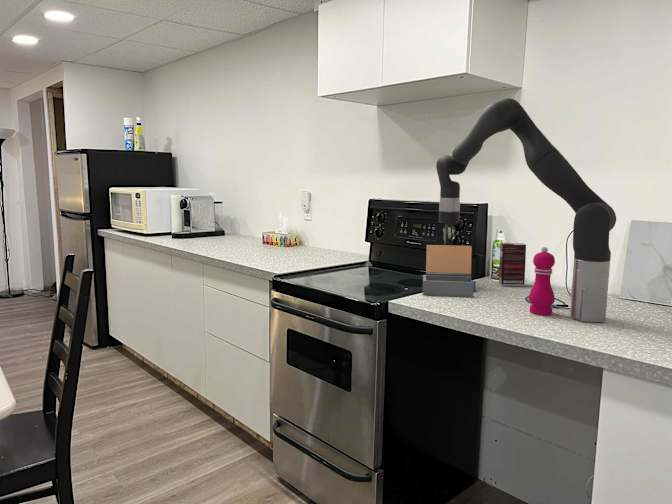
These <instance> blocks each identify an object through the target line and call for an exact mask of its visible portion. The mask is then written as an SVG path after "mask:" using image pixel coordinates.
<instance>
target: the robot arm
mask: <svg viewBox="0 0 672 504" xmlns="http://www.w3.org/2000/svg"><path fill="white" fill-rule="evenodd" d="M507 130H510V131H512V132H513V133H514V135H515V136H516V137H517V138H518V140H520V143H521V145H522V148H523V154H524V159H525V163H526V165H527V167H528V168H529V170H530V171H531V172H532V173H533V175H534V176H535V177H536V178H537V179H538V181H540V183H541V184H542V185H544V186H545V187H546V188H547V189H549V190H550V191H551V192H553V193H554V194H556V195H557V196H559V197H560V198H561V199H562V200H563V201H565V202H566V203H567V204H568V205H569V206H570V207H571V209H572V210H573V211H574V213H575V215H574V219H573V233H572V248H573V249H572V250H573V252H574V253H573V271H572V283H571V294H570V295H571V296H570V297H571V298H570V309H569V310H570V311H569V312H570V313H569V317H571V318H572V319H575V320H577V321H580V322H586V323H605V322H606V319H607V304H608V294H609V293H608V291H609V278H610V270H611V269H610V267H611V257H612V256H611V254H612V252H611V249H610V232H611V231H612V230H613V229H614V227H615V226H616V222H617V215H616V212H615V210H614V209H613V207H612V206H611V205H610V204H608V203H607V202H606V201H605V200H604V199H602V198H601V196H599V195H598V194H597V193H596V192H595V191H593V189H592V188H591V187H590V186H589V185H587V183H586V182H585V181H584V180H583V178H582V177H581V176H580V175H579V173H578V171H576V169H575V168H574V167H573V166H572V165H571V164H570V162H569V161H568V160H567V159H566V157H564V156H563V154H562V153H561V152H560V150H558V149H557V147H556V146H555V145H553V144H552V143H551V142H550V141H549V139H548V138H547V137H546V136H545V135H544V133H543V132H542V131H541V130H540V129H539V127H538V126H537V125H536V124H535V123H534V121H533V120H532V119H531V117H530V116H529V114H528V113H527V111H526V110H525V108H524V107H523V106H522V104H520V103H519V102H518V100H516V99H514V98H510V97H508V98H503V99H500V100H497V101H494V102H492V103H490V104H488V105H487V106H486V107H485V108H484V110H483V111H482V112H481V114H480V116H479V117H478V119H477V120H476V122H475V123H474V125H472V127H471V129H470V131H469V132H468V133H467V134H466V136H465V137H463V139H462V140H460V141H459V143H457V144H456V145H455V147H454V148H453V150H452V152H451V154H452V155H450V154H443V155H440V156H439V157H438V159H437V161H436V165H435V168H436V173H437V177H438V181H439V187H440V193H439V194H440V195H439V207H438V222H439V223H440V224H445V226H444V227H442V228H443V229H442V231H443V241H444V244H443V245H453V241H454V234H455V227H453V225H454V224H459V223H460V217H461V216H460V213H461V200H460V197H461V195H460V193H461V185H460V182H458V181H455V180H452V179H451V177H450V175H451V176H458V175H462V174H463V173H464V172H465V171H466V169H467V167H468V165H469V163H470V161H471V160H473V158H474V157H476V155H477V154H478V153H479V152H480V151H481V149H482V148H483V145H484V142H486V141H487V140H488V139H489V138H491V137H492V136H494V135H495V134H498V133H502V132H505V131H507Z"/></svg>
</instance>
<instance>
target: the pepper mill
mask: <svg viewBox="0 0 672 504" xmlns="http://www.w3.org/2000/svg"><path fill="white" fill-rule="evenodd" d="M540 250H541V252H537V253H536V254H535V255H534V256H533V259H532V263H533V265H534V266H535V267H534V268H533V269H534V271H533V272H534V273H535V280H534V283H533V285H532V288H531V290H530V291H529V294H528V301H529V303H530V304H531V305H529V313H531V314H533V315H537V316H551V315H552V314H553V307H551V306H552V305H554V303H555V300H556V299H555V297H556V296H555V293H554V291H553V288H552V283H551V275H553V269H552V268H553V266H555V264H556V259H555V256H554V255H553V254H552V253H549V252H548V251H549V248H547V247H546V246H543V247H542V248H541V249H540Z"/></svg>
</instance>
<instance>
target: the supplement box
mask: <svg viewBox="0 0 672 504" xmlns="http://www.w3.org/2000/svg"><path fill="white" fill-rule="evenodd" d="M499 246H500V248H499V251H500V252H499V268H498V269H499V273H498V284H499V285H500V286H501V287H525V281H526V279H525V278H526V277H525V276H526V259H527V258H526V256H527V255H526V253H527V244H526V243H522V242H519V243H518V242H508V243H507V242H501V243H500V245H499Z"/></svg>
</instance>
